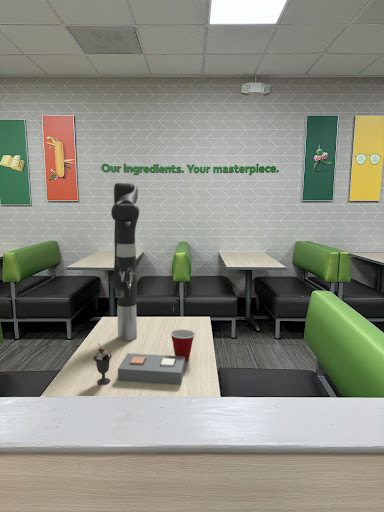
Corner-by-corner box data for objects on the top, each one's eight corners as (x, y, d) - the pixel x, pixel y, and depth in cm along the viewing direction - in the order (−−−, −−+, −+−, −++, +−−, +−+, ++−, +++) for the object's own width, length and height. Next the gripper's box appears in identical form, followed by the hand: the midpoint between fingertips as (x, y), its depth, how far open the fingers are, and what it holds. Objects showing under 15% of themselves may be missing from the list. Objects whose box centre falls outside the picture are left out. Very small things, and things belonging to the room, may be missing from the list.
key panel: (127, 364, 140) (127, 353, 140) (185, 367, 138) (185, 356, 137) (118, 381, 128) (117, 368, 127) (180, 385, 125) (181, 372, 125)
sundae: (96, 377, 130) (94, 340, 128) (113, 376, 131) (112, 340, 128) (92, 386, 124) (91, 348, 121) (111, 386, 124) (110, 348, 122)
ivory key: (163, 367, 135) (163, 358, 134) (174, 368, 134) (174, 358, 134) (160, 373, 130) (160, 364, 129) (173, 374, 130) (173, 364, 129)
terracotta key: (133, 365, 136) (133, 356, 135) (145, 366, 135) (145, 357, 135) (130, 371, 131) (130, 362, 130) (142, 372, 131) (142, 363, 130)
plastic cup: (198, 355, 150) (198, 329, 148) (190, 366, 139) (190, 339, 137) (175, 351, 153) (175, 326, 151) (166, 362, 143) (166, 335, 141)
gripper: (122, 251, 140) (123, 292, 143) (111, 257, 128) (112, 301, 130) (139, 252, 140) (140, 292, 143) (131, 257, 127) (131, 302, 130)
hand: (127, 296), depth 137 cm, fingers closed
